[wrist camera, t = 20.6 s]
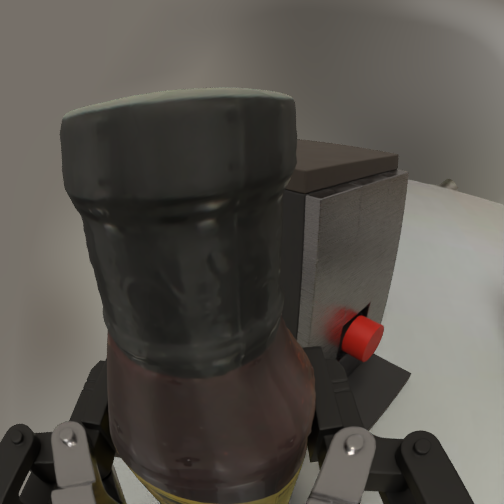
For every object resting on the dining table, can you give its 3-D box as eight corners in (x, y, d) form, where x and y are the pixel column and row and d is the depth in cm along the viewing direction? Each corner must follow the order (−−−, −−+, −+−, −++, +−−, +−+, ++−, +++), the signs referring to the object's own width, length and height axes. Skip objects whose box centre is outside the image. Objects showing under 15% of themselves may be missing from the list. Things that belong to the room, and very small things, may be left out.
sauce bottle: (161, 502, 13) (-9, 142, 5) (233, 450, 17) (190, 105, 9) (237, 570, 9) (-37, 85, 1) (311, 504, 13) (399, 98, 5)
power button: (378, 348, 23) (387, 318, 22) (358, 369, 21) (367, 339, 20) (359, 338, 25) (366, 308, 23) (338, 358, 23) (344, 327, 21)
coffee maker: (411, 375, 26) (469, 171, 17) (342, 460, 19) (426, 199, 10) (283, 306, 38) (286, 138, 29) (204, 351, 31) (179, 151, 22)
